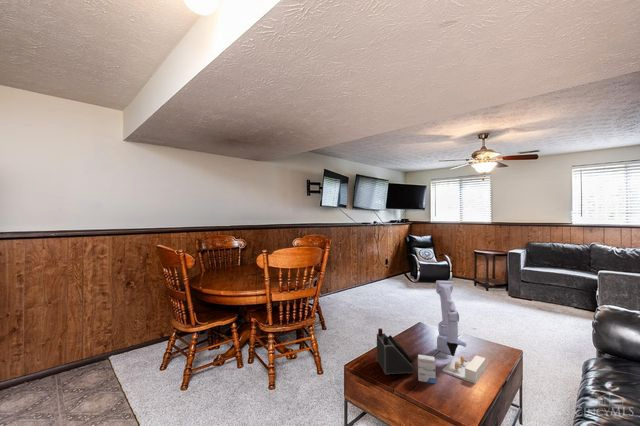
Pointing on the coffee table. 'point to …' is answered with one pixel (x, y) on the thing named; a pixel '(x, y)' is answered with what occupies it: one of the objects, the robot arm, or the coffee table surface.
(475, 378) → the panel mount
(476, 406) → the coffee table surface
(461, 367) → the knob
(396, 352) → the dark wedge stand
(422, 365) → the ink box
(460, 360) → the knob
